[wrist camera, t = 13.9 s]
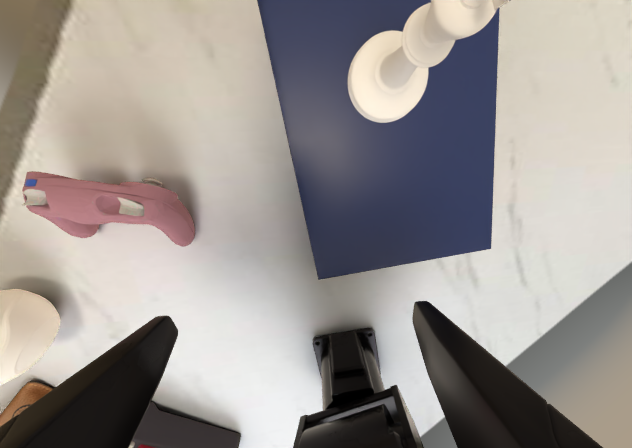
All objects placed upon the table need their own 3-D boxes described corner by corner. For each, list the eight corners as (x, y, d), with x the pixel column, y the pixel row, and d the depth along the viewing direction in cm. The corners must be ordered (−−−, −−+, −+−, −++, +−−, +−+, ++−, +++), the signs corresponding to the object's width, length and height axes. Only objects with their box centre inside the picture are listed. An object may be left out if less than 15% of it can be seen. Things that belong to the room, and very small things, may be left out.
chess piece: (367, 137, 15) (458, 105, 6) (333, 63, 14) (378, -135, 4) (435, 97, 15) (667, -13, 5) (406, 16, 13) (642, -336, 4)
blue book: (466, 235, 21) (491, 248, 18) (317, 263, 21) (318, 279, 18) (466, -22, 15) (502, -64, 12) (266, 25, 16) (256, -4, 13)
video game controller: (206, 199, 21) (159, 168, 14) (198, 248, 20) (143, 240, 13) (97, 188, 21) (-7, 151, 14) (84, 238, 20) (-33, 225, 13)
